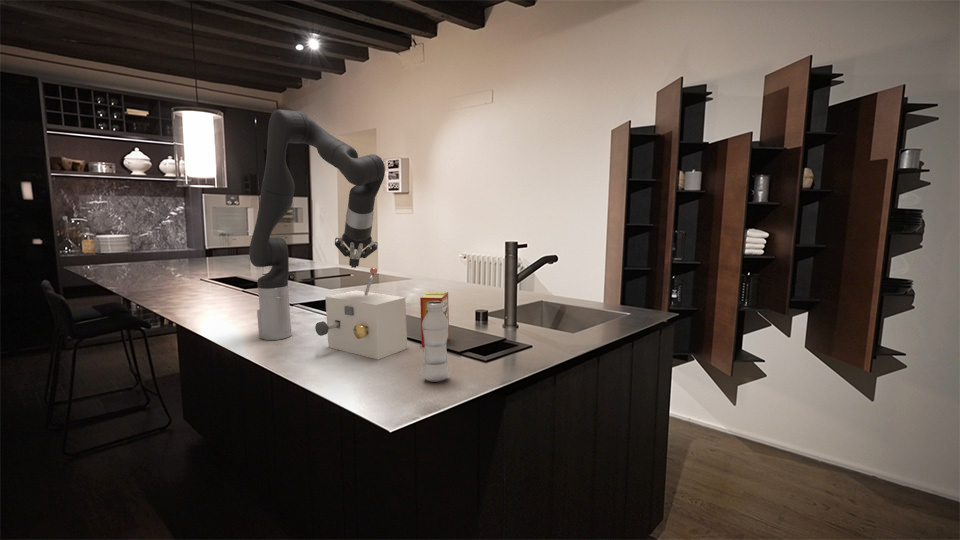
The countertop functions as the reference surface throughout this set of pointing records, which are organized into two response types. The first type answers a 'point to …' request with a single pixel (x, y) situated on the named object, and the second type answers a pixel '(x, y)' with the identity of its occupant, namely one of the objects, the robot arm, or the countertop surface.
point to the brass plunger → (360, 331)
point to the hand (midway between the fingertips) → (353, 265)
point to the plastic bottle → (435, 343)
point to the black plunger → (325, 327)
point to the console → (367, 323)
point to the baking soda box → (434, 297)
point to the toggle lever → (370, 279)
